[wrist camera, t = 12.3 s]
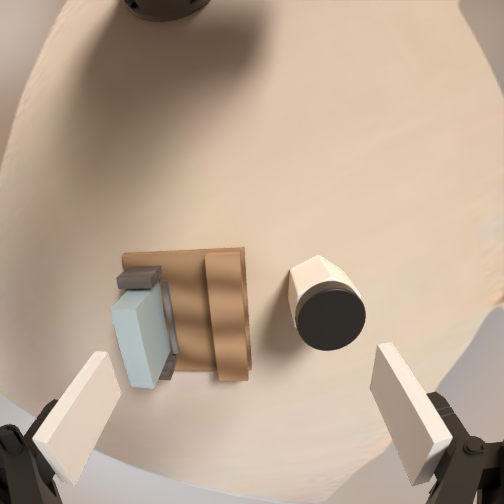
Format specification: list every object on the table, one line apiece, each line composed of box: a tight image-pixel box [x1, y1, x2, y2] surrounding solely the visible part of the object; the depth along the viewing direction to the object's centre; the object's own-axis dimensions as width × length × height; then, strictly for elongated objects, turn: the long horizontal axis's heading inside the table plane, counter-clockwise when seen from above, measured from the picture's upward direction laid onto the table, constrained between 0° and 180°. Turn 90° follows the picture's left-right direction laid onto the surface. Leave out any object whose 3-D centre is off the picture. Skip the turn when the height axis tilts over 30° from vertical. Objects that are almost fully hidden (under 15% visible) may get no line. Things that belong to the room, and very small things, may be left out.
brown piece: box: [116, 247, 252, 381], centre depth 45 cm, size 20×18×6 cm
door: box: [110, 281, 170, 389], centre depth 43 cm, size 12×4×10 cm, turn 3°
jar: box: [288, 255, 366, 351], centre depth 41 cm, size 9×8×12 cm
